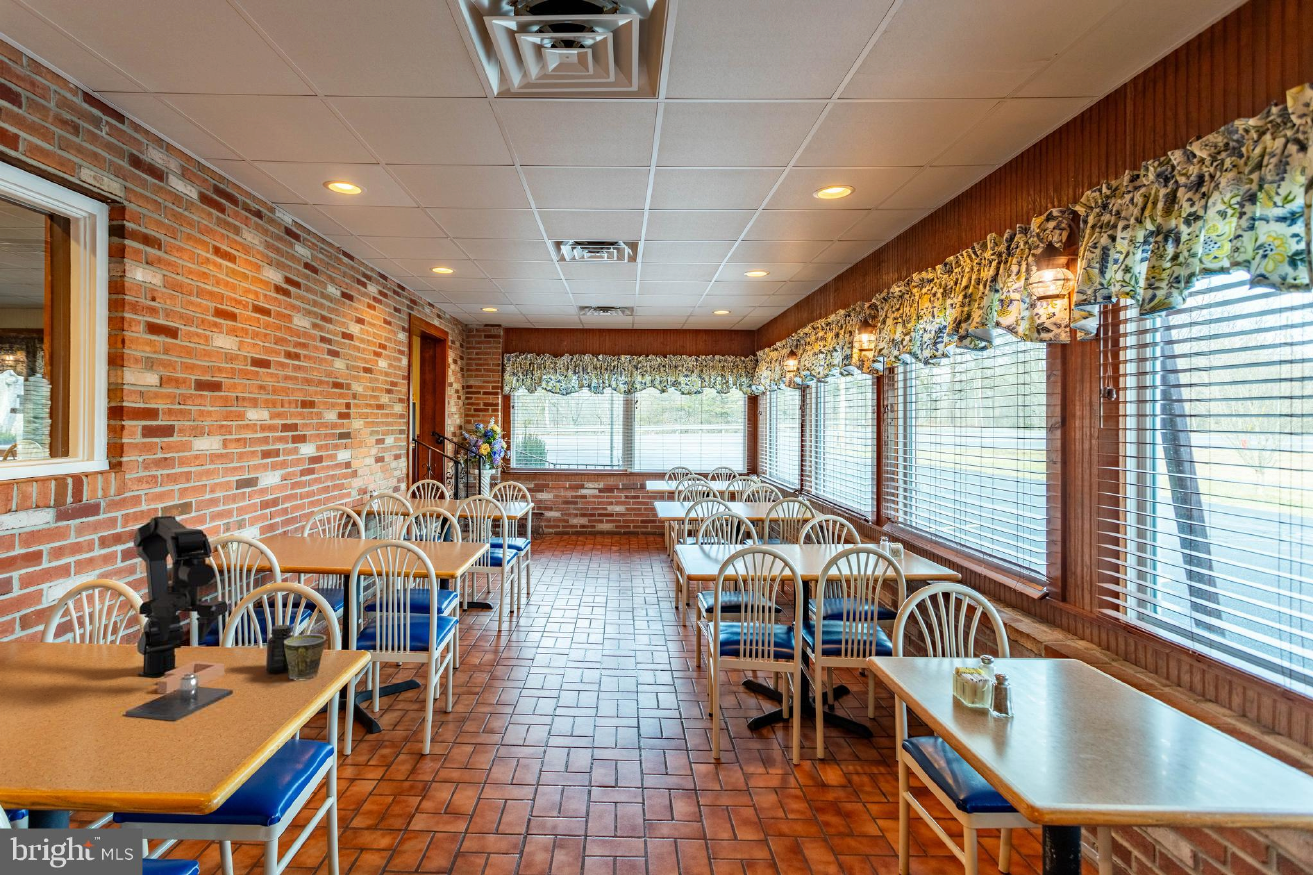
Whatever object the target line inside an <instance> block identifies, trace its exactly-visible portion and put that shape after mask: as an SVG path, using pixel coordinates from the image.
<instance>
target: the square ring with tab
mask: <svg viewBox="0 0 1313 875" xmlns="http://www.w3.org/2000/svg"><path fill="white" fill-rule="evenodd" d="M178 667H179V668H176V669H174V670H171V671H168V672H166V673H165V675H164V678H162V679H160V680H157V694H163V695H166V694H168V693H170V692H173V691H174V690H177V689H180V685H181V679H182V678H184V675H186V674H190V673H195V676H198V677H199V679H198V687H201V686H202V685H205V684H207V683H210V682H211V681H214V680H216V679H218V678H220V677H222V676H225V663H219V662H210V661H207V662H206V661H198V660H197V661H196V660H194V661H192V662H189V663H186V664H184V665H182V666H178Z"/></svg>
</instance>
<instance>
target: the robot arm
mask: <svg viewBox="0 0 1313 875" xmlns="http://www.w3.org/2000/svg"><path fill="white" fill-rule="evenodd" d="M133 546H134V547H135V548H136V554H137V556H138V557H139V558H140V559H141V560H142V561H143V562H145V572H146V574H145V575H146V583H147V584H146V585H147V598H148V600H147V601H143V602H142V603H141V604H140V606H139V609H138V610H139V611H138V615H143V617H144V619H145V618H146V619H147V620H146V622H145V623H144V625H143V627H142V628H143V630H142V633H141V635H140V637H139V639H138V641H137V643H136V646H137V653H139V654H140V655H142V656H143V669H142V671H141V672H138V673H137V676H139V677H148V678H149V677H150V678H161V677H163V676H165V673H166V672H168V671H171V670H174V669H176V668H179V667H180V666H176V654H175V652H176V650H175V649H181V648H182V645H183V640H184V635H185V632H186V631H185V629H184V627H183V625H182V624H181V617H180V615H179V614H177V613H178V612H189V613H191V612H196V615H198V617H196V618H195V620H196V621H197V622H198V643H200V644H201V643H203V642H204V640H205V639H206V637H207V635H208V634H209V632H210V630H211V628H212V627H213V625H214V623H215V621H216V620H217V618H218V617H220V616H222V615H223V614H224V613H227V612H228V611H229V610H228V608H229V605H228V603H227V602H226V600H212V599H211V600H210V601H207V602H204V603H202V602H203V597H200V595H199V594H200V592H199V591H200V588H202V587H204V586H207V585H208V584H210V583H211V582H212V581H213V579H214V578H215V570H214V568H213V567H212V565H210V564H208V563H206V560H207V559H208V558H209V559H210V558H212V551H213V550H212V548H211V544H210V541H209V538H208V537H207V534H206V533H205V532H204V531H203V529H201V528H200V529H199V528H188V527H186V526H185V525H184V524H182V523H181V522H180V521H178V520H177V519H176V516H172V515H163V516H159V515H158V516H154V517H152V518H150V520H149V521H148V522H147V523H145V524H143V525H141V526H140V527H138V528H137V530H136V532H135V533H134V535H133ZM169 556H170V559H171V561H172V563H171V583H170V581H169V572H168V560H167V558H168V557H169Z"/></svg>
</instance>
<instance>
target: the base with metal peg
mask: <svg viewBox="0 0 1313 875" xmlns="http://www.w3.org/2000/svg"><path fill="white" fill-rule="evenodd" d="M198 679H199V677H198V676H195V673H190V674H186V675H184V678H182V679H181V685H180V688H179V689H177V690H175V691H172V692H170V693H168V694H163V695H161V696H158V697H157V698H154V699H152V700H150V701H147V702H144V703H143V704H140V705H138V706H136V707H133V708H131V709H128V710H126V711H125V717H131V718H133V717H134V718H143V719H151V720H153V719H155V720H162V721H172V722H177V721H179V720H181V719H183V718H185V717H188V716H189V715H191V714H194V713H195V712H198V711H200V710H201V709H204V708H206V707H208V706H210V705H213V704H214V703H217V702H218V701H222V700H223V699H225V698H227V697H230V696H231V695H233V693H234V692H233V691H234V689H229V688H227V689H226V688H220V687H219V688H216V687H207V686H198Z"/></svg>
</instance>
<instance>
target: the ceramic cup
mask: <svg viewBox="0 0 1313 875" xmlns="http://www.w3.org/2000/svg"><path fill="white" fill-rule="evenodd" d="M293 636H294V637H291V638H288V639H286V640H285V641H284V648H285V654H286V658H287V664H288V670H289V672H288V676H289V679H290V680H291V679H296V680H299V679H309V678H312V677H314V676H316V677H317V676H318V674H319V669H320V665H321V660H322V657H323V652H324V649H325V646H326V641H327V637H326V635H323V634H319V633H306V634H300V635H299V634H298V635H293ZM314 678H315V677H314ZM312 679H313V678H312ZM309 680H310V679H309Z"/></svg>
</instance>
